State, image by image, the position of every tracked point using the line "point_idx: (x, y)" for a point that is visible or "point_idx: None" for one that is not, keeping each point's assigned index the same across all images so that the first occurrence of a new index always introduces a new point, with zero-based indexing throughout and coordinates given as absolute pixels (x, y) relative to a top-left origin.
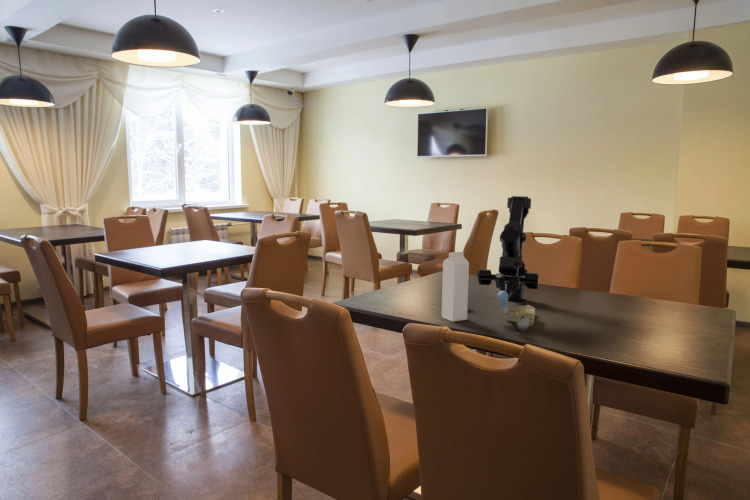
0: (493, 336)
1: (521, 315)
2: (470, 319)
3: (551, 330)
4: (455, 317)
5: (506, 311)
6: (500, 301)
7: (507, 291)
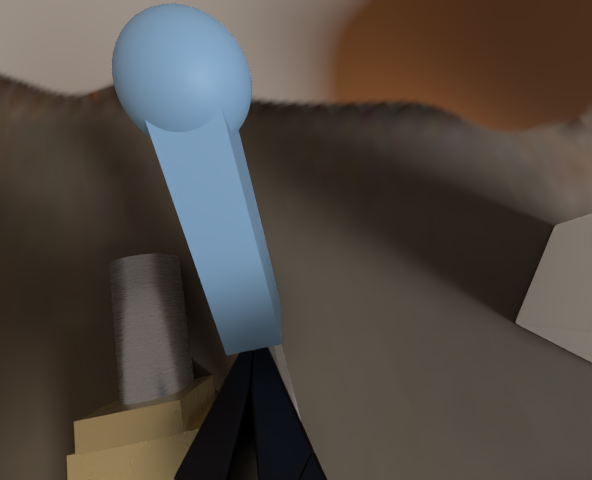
0: (263, 105)
1: (162, 398)
2: (498, 339)
3: (20, 377)
4: (565, 236)
5: None
6: (245, 162)
7: (217, 460)
